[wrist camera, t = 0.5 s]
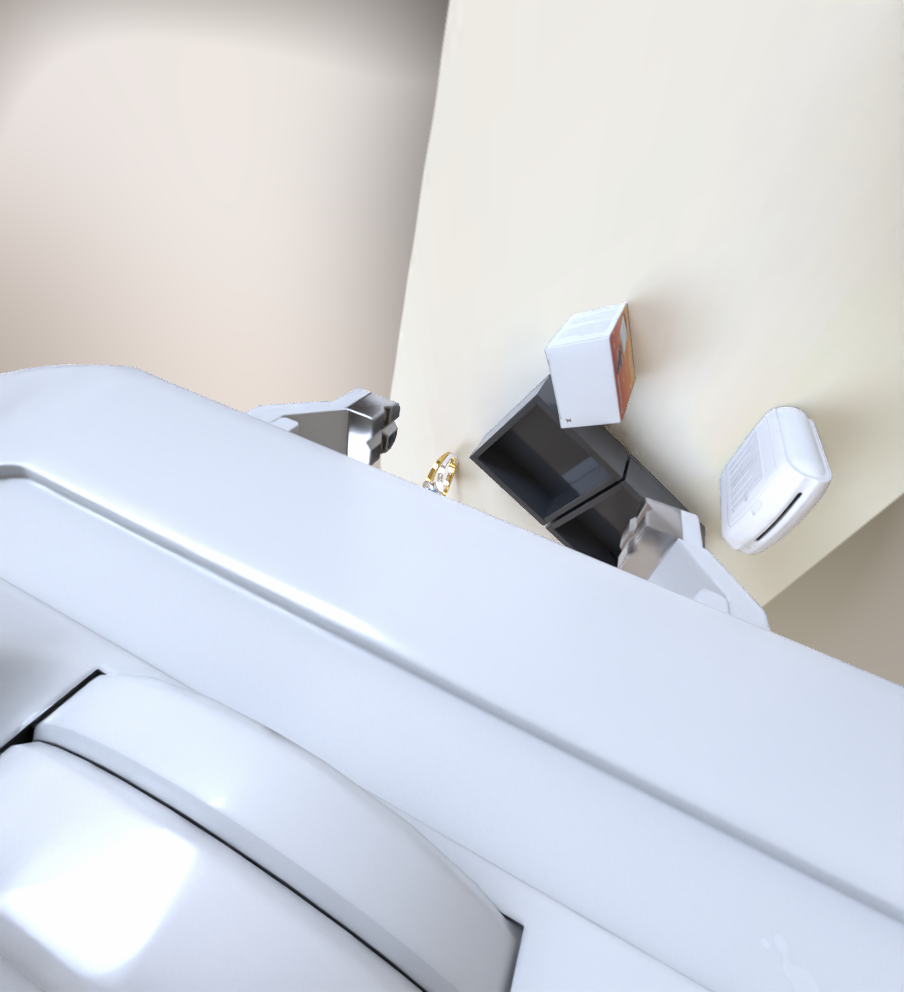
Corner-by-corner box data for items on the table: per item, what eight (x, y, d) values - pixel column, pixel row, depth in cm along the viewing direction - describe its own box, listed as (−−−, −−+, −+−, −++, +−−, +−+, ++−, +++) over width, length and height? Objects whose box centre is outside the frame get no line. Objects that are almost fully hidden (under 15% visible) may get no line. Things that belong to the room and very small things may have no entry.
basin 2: (631, 454, 51) (625, 480, 47) (705, 527, 52) (704, 558, 48) (555, 502, 60) (545, 528, 56) (620, 563, 61) (614, 592, 57)
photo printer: (753, 493, 47) (763, 572, 39) (713, 478, 48) (714, 553, 40) (820, 414, 40) (851, 490, 32) (772, 399, 41) (789, 468, 33)
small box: (636, 378, 45) (622, 425, 38) (582, 386, 48) (560, 431, 41) (628, 300, 41) (611, 335, 34) (570, 313, 44) (543, 348, 37)
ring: (460, 484, 65) (437, 516, 60) (441, 475, 66) (417, 507, 60) (469, 447, 60) (445, 479, 55) (448, 439, 61) (422, 470, 55)
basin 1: (550, 373, 49) (536, 394, 45) (628, 451, 51) (622, 478, 47) (485, 435, 58) (469, 457, 54) (553, 500, 60) (543, 526, 56)
